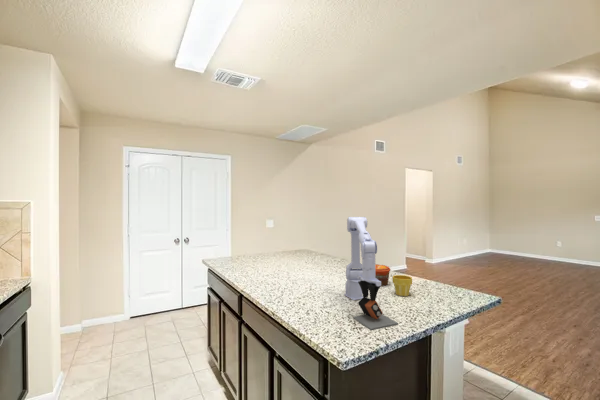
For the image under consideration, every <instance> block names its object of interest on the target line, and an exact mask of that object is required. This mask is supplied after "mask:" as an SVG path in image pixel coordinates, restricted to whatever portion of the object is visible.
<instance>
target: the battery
mask: <svg viewBox="0 0 600 400" xmlns="http://www.w3.org/2000/svg"><path fill="white" fill-rule="evenodd" d="M357 304H358V305H359V307H360V309H361V310H362V312H363V315H365V314H366V315H368V316H370V317H372V318H374V319H378V318H379V317H380V316H381V315H382V314H383V311H382V309H381V307H380V305H379V304H378V302H377V301H376V300H375V301H374V300H373V301H371V300H370V297H369V298H368V297H365V298H364V297H363V298H362V299H359V301H358V302H357ZM383 315H384V314H383Z"/></svg>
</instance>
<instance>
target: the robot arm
mask: <svg viewBox="0 0 600 400" xmlns="http://www.w3.org/2000/svg"><path fill="white" fill-rule="evenodd" d="M346 221H347V222H346V231H347V232H349V233H350V247H351V248H350V251H351V252H350V255H351V258H350V260H351V261H350V263H348V264H347V265H346V267H345V268H346V269H345V278H346V280H345V281H346V282H345V289H344V290H345V293H344V294H343V295H344V296H346V298H349V299H350V300H352V301H357V300H361V299H362V298H363V297H364V298H365V297H366V298H368V297H369V299H370V300H371V301H373V300H374V301H376V300H377V297H378V296H377V295H378V291H379V290H380V288H381V287H382V286H381V281H379V280H378V279H376V274H375V264H376V255H377V253H378V244H377V241H376V240H374V239H373V238H372V236H371V234H370V232H369V231H367V228H368V219H367V217H366V216H348V217H347V219H346ZM361 259H362V261H361ZM361 262H362V263H361ZM370 283H371V284H370Z"/></svg>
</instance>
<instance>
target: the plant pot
mask: <svg viewBox="0 0 600 400" xmlns="http://www.w3.org/2000/svg"><path fill="white" fill-rule="evenodd" d="M392 283H393V286H394V290H395V294H396V295H397V296H399V297H408V296H409V295H410V290H411V286H412V284H413V278H412V277H411V276H408V275H405V274H395V275H393V276H392Z"/></svg>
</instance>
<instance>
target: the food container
mask: <svg viewBox="0 0 600 400" xmlns="http://www.w3.org/2000/svg"><path fill="white" fill-rule="evenodd" d="M391 269H392V268H391V267H389V266H387V265H384V264H376V263H375V274H376V279H378V280H379V281H381V287H386V286H388V284H389V279H390V272H391ZM370 284H371V283H370Z"/></svg>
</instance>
